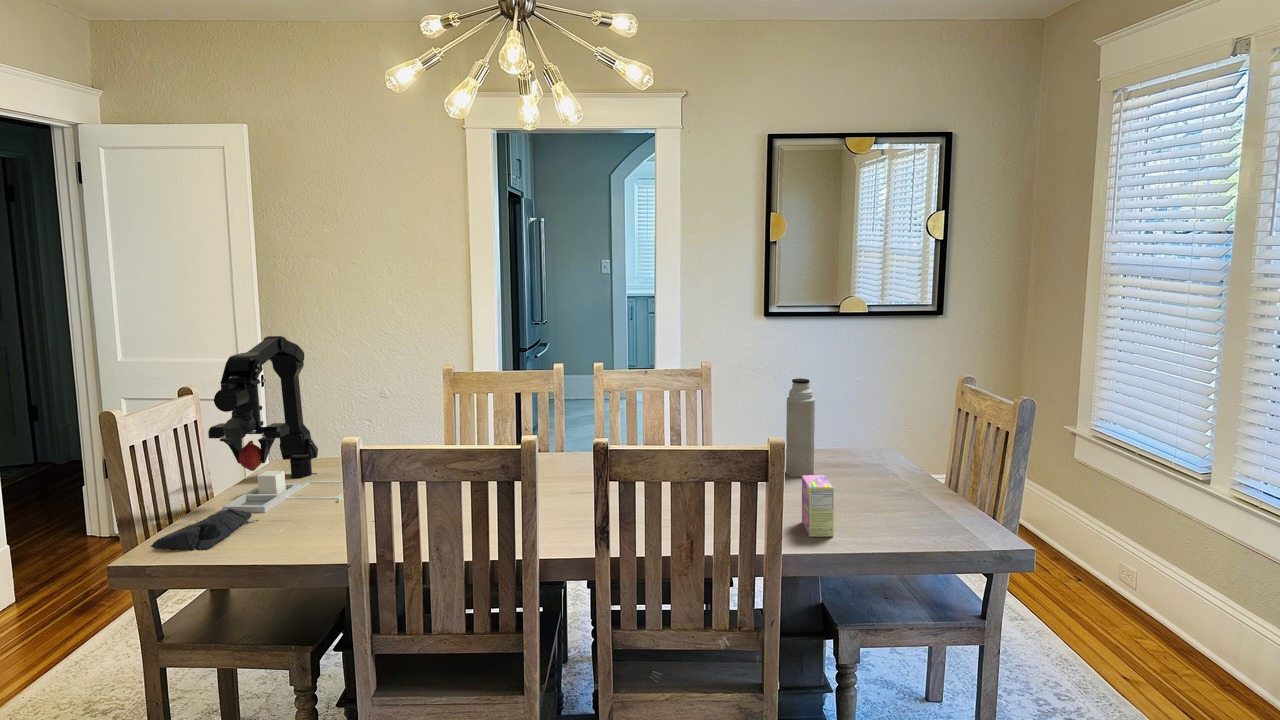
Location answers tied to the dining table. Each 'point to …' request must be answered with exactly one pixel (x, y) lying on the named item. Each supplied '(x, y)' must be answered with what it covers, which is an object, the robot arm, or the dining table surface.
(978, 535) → the dining table surface
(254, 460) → the onion
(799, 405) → the thermos bottle
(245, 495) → the grey divided tray
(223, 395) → the robot arm
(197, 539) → the dark folded cloth
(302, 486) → the pale green square frame
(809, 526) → the box
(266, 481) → the cream block
